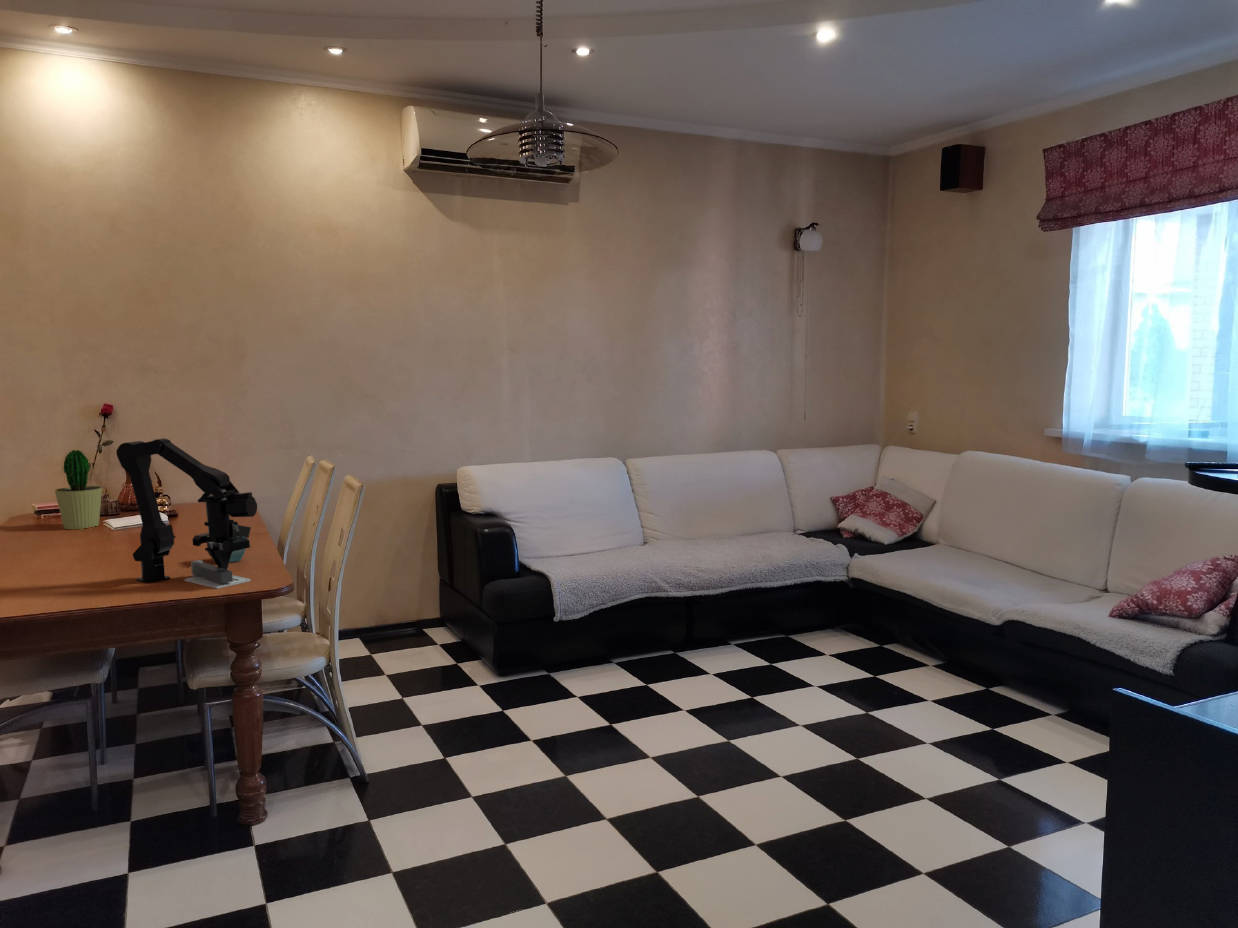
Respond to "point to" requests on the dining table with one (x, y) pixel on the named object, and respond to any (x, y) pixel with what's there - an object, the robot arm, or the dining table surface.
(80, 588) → the dining table surface
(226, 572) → the bar
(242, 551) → the flower pot
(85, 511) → the potted cactus
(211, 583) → the label board
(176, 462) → the robot arm
